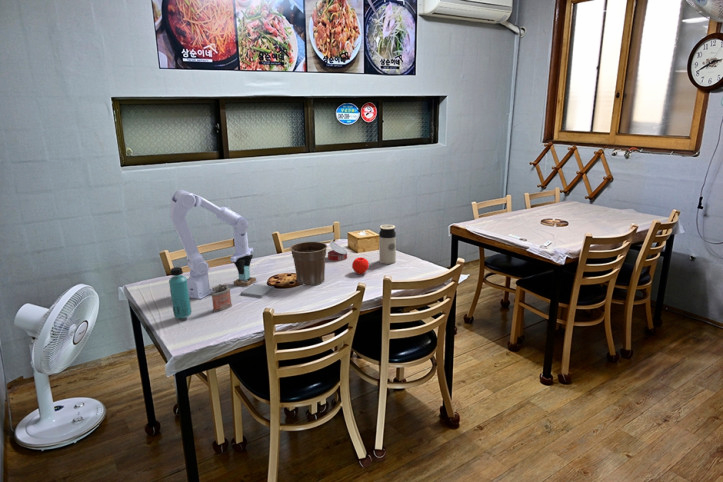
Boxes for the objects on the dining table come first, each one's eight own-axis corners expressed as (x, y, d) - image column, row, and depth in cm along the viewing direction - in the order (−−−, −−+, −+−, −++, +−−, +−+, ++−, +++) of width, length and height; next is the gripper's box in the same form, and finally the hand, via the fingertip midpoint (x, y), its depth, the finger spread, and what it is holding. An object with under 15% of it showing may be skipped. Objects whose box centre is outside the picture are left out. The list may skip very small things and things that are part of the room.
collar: (247, 286, 209) (247, 283, 209) (233, 284, 212) (233, 281, 211) (256, 280, 216) (255, 277, 215) (242, 279, 218) (242, 276, 218)
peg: (245, 280, 211) (244, 268, 209) (238, 279, 212) (237, 267, 211) (250, 277, 214) (249, 266, 212) (243, 276, 215) (242, 265, 214)
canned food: (337, 263, 250) (342, 245, 251) (348, 266, 243) (354, 247, 244) (320, 257, 243) (325, 239, 244) (331, 260, 236) (337, 241, 237)
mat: (261, 297, 198) (261, 295, 197) (241, 294, 201) (240, 292, 201) (274, 288, 206) (274, 286, 206) (254, 285, 210) (254, 283, 210)
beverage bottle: (194, 314, 184) (188, 264, 178) (189, 321, 177) (182, 271, 171) (177, 314, 183) (170, 265, 178) (171, 322, 177) (163, 271, 171)
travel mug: (377, 260, 240) (376, 225, 234) (392, 258, 242) (392, 223, 237) (382, 265, 232) (382, 229, 227) (398, 263, 235) (398, 227, 229)
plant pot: (287, 278, 218) (285, 244, 213) (320, 272, 225) (318, 239, 220) (299, 290, 204) (297, 254, 199) (334, 283, 211) (333, 248, 206)
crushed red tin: (228, 304, 192) (226, 280, 189) (233, 306, 190) (231, 282, 187) (211, 310, 186) (208, 286, 183) (216, 313, 184) (213, 289, 181)
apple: (372, 274, 220) (371, 259, 218) (355, 277, 218) (355, 261, 215) (365, 269, 227) (365, 254, 225) (349, 271, 225) (349, 256, 223)
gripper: (239, 248, 200) (242, 279, 204) (258, 239, 213) (260, 267, 217) (225, 247, 203) (228, 277, 207) (244, 237, 216) (247, 266, 220)
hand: (243, 272), depth 212 cm, fingers closed on peg, 3 cm apart
